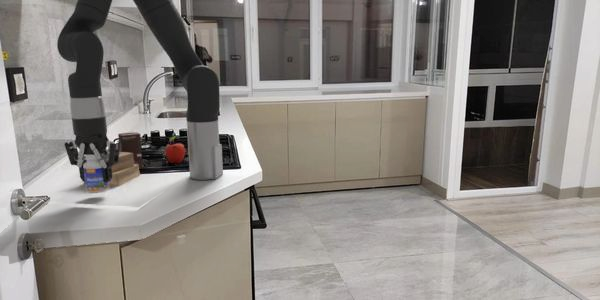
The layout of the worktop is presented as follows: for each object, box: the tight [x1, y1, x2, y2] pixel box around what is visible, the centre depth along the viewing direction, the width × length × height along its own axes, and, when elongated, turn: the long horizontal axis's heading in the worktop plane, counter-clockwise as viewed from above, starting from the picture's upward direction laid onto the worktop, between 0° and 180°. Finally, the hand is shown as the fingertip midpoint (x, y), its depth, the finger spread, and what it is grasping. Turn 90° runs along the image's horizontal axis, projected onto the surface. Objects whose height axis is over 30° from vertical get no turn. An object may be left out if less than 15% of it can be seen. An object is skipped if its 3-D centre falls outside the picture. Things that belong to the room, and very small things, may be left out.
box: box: [117, 131, 143, 169], centre depth 134 cm, size 6×4×12 cm
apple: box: [164, 135, 187, 164], centre depth 143 cm, size 8×7×10 cm
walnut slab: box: [107, 150, 134, 173], centre depth 123 cm, size 9×9×4 cm
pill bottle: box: [83, 154, 110, 194], centre depth 106 cm, size 5×5×10 cm
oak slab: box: [83, 164, 141, 187], centre depth 124 cm, size 11×11×4 cm
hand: (96, 180), depth 107 cm, fingers closed on pill bottle, 5 cm apart
